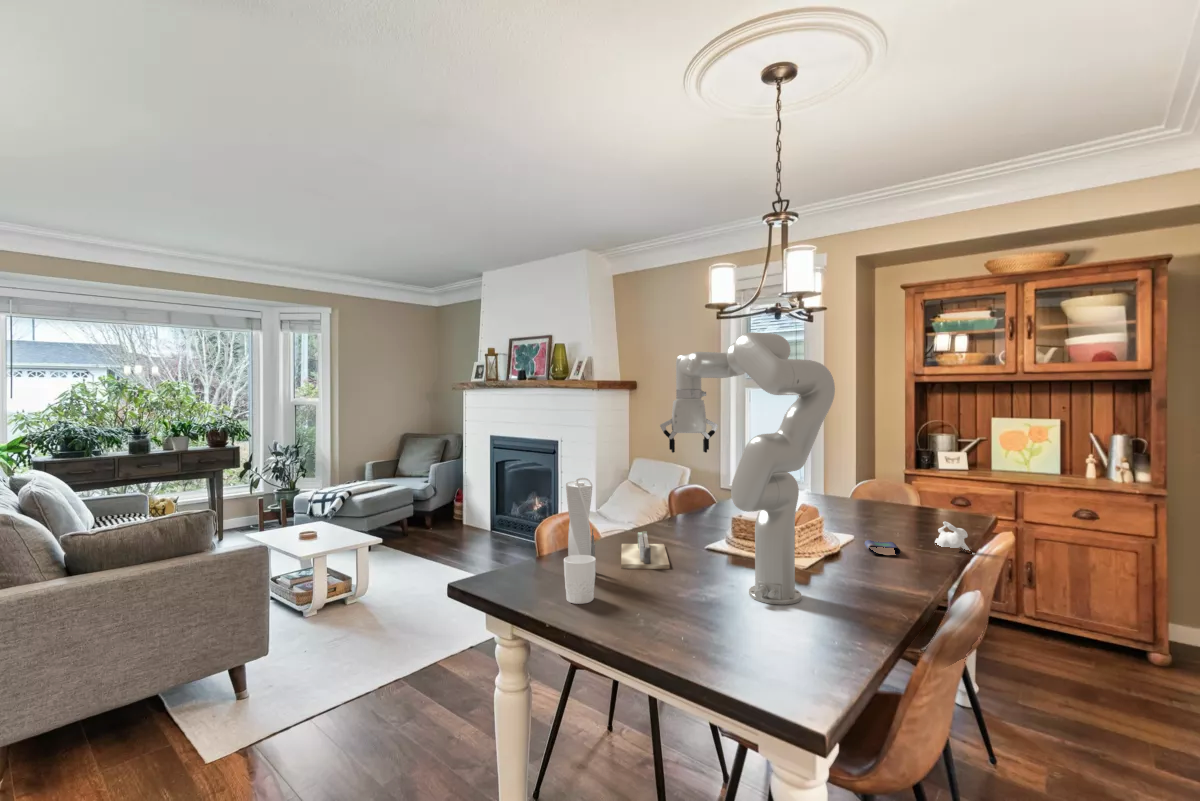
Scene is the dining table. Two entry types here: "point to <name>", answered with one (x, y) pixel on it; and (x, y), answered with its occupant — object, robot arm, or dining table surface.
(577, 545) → the skyscraper
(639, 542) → the bar
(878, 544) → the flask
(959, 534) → the rabbit figurine
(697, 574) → the dining table surface
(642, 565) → the tong rest
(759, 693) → the dining table surface
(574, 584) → the white cup
